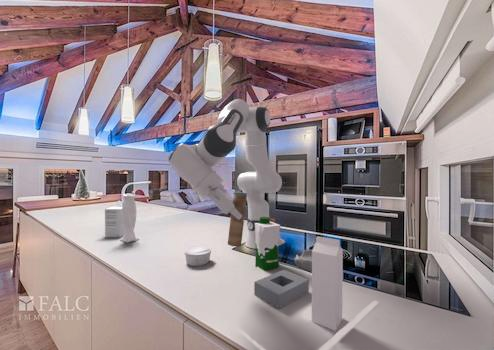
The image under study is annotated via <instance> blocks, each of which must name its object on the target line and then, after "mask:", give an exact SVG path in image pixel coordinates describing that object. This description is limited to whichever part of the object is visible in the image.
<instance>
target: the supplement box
mask: <svg viewBox="0 0 494 350" xmlns="http://www.w3.org/2000/svg"><path fill="white" fill-rule="evenodd" d="M123 235H124V229H123V223H122V206H110V207H107V208H105V209H104V238H122V237H123ZM121 236H122V237H121Z"/></svg>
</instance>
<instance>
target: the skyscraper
mask: <svg viewBox="0 0 494 350" xmlns="http://www.w3.org/2000/svg"><path fill="white" fill-rule="evenodd" d="M135 198H136V191H134V190H132V191H131V193H124V194H122V200H123V202H122V206H121V207H122V223H123V229H124V235H123V236H122V239H120V240H119V241H120V242H122V241H123V243H127V244H129V242H130V243H133V242H136V241H140V238H137V237H136V234H135V227H136V222H137V205H136V200H135Z"/></svg>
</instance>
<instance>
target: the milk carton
mask: <svg viewBox="0 0 494 350" xmlns="http://www.w3.org/2000/svg"><path fill="white" fill-rule="evenodd" d="M269 219H270V217H269V218H268V217H260V222H257V223H255V232H256V249H255V261H254V262H255V268H260V269H261V270H262V271H264V272H266V271H271V270H274V269H279V268H280V259H279V246H278V242H279V232H280V229H281V224H278V223H276V222H274V223H273V222H270V221H269Z"/></svg>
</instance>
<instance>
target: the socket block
mask: <svg viewBox="0 0 494 350" xmlns="http://www.w3.org/2000/svg"><path fill="white" fill-rule="evenodd" d="M309 280H310V279H309V278H306V277H304V276H301V275H298V274H296V273H294V272H291V271H289V270H286V269H282V270H280V271H278V272H274V273H273V274H271V275H268V276H265V277H263V278H261V279H257V280H256V281H254V284H253V287H254V291H253V292H254V293H253V295H254V296H256V297H257V298H258V299H260V300H262V301H263V302H265V303H267V304H269V305H271V306H272V307H274V308H276V309H277V310H280V309H283V308H284V307H286V306H287V305H289V304H292V303H293V302H294V301H296V300H298V299H300V298H302V297H303V296H305V295H307V294H308V293H309V291H310V290H309V289H310V286H309V285H310V281H309Z"/></svg>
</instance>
